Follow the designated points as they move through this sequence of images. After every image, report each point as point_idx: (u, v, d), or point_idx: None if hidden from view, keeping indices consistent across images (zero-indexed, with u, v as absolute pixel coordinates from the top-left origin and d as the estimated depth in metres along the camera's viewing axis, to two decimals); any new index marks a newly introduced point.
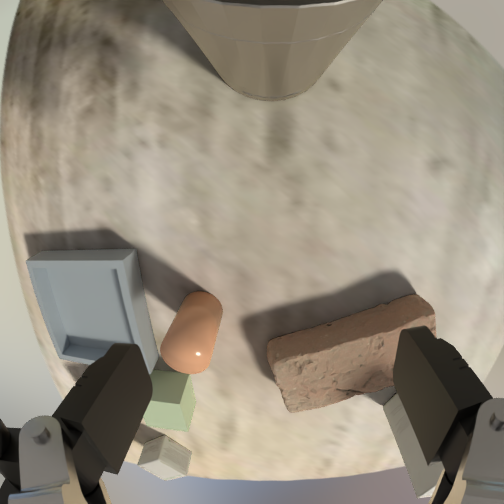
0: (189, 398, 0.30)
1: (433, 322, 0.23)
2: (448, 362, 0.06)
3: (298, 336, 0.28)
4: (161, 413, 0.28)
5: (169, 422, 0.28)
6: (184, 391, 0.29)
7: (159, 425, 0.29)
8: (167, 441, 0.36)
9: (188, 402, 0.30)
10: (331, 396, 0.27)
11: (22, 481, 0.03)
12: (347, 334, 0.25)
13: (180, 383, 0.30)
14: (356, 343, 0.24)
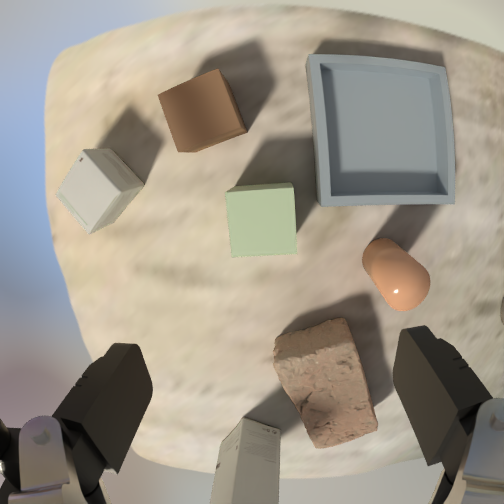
0: None
1: (368, 432, 0.30)
2: (448, 362, 0.06)
3: None
4: (267, 224, 0.22)
5: (248, 231, 0.23)
6: None
7: (233, 213, 0.22)
8: (137, 191, 0.27)
9: None
10: (301, 390, 0.28)
11: (22, 481, 0.03)
12: (366, 383, 0.29)
13: None
14: (364, 393, 0.28)
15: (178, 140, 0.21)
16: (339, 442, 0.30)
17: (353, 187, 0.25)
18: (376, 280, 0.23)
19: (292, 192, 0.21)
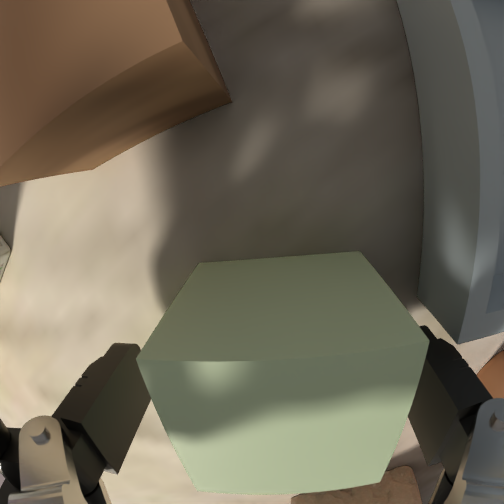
0: None
1: None
2: (448, 362, 0.06)
3: None
4: (307, 448, 0.05)
5: (240, 461, 0.05)
6: None
7: (181, 422, 0.05)
8: None
9: None
10: None
11: (22, 481, 0.03)
12: None
13: None
14: None
15: None
16: None
17: (501, 263, 0.08)
18: None
19: (420, 357, 0.04)
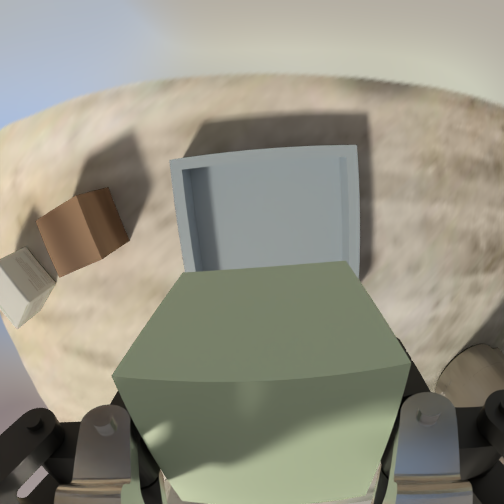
0: None
1: None
2: None
3: None
4: (287, 464, 0.05)
5: (221, 475, 0.05)
6: None
7: (160, 437, 0.05)
8: (50, 290, 0.26)
9: None
10: None
11: (94, 476, 0.04)
12: None
13: None
14: None
15: (57, 267, 0.20)
16: None
17: None
18: None
19: (401, 379, 0.04)
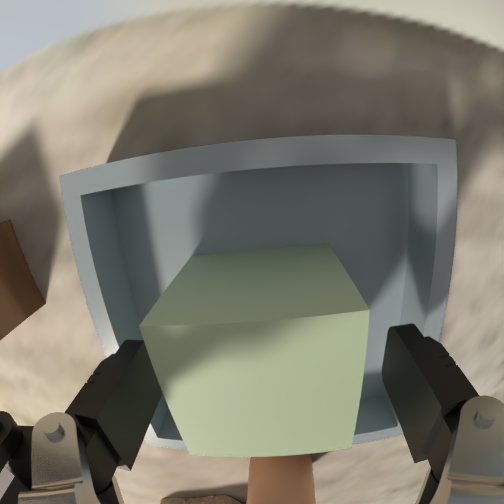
0: None
1: None
2: (434, 359, 0.06)
3: None
4: (278, 406, 0.07)
5: (224, 420, 0.07)
6: None
7: (174, 381, 0.07)
8: None
9: None
10: None
11: (37, 479, 0.03)
12: None
13: None
14: None
15: None
16: None
17: None
18: None
19: (364, 324, 0.06)
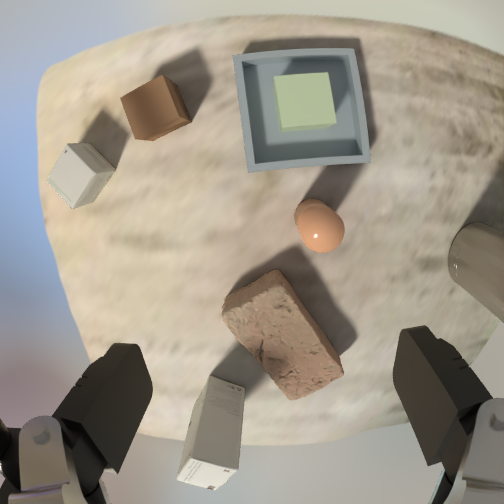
0: (307, 128, 0.28)
1: (336, 378, 0.35)
2: (448, 362, 0.06)
3: (293, 291, 0.35)
4: (310, 99, 0.24)
5: (295, 105, 0.24)
6: (330, 125, 0.27)
7: (281, 91, 0.24)
8: (110, 174, 0.32)
9: (307, 127, 0.27)
10: (253, 340, 0.34)
11: (22, 481, 0.03)
12: (314, 326, 0.34)
13: None
14: (313, 336, 0.34)
15: (135, 130, 0.27)
16: (309, 391, 0.36)
17: (278, 157, 0.31)
18: (299, 229, 0.29)
19: (327, 75, 0.23)
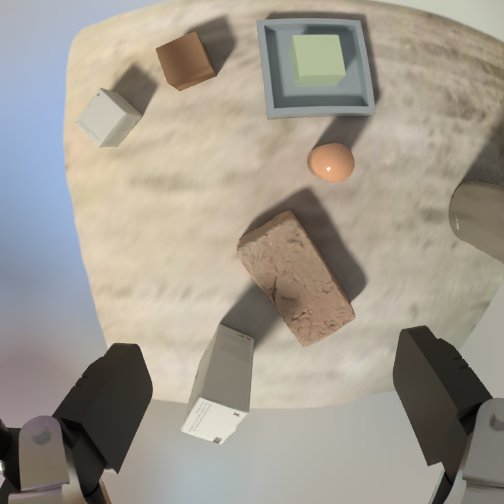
0: (320, 81, 0.30)
1: (348, 321, 0.37)
2: (448, 362, 0.06)
3: (304, 230, 0.37)
4: (323, 54, 0.26)
5: (310, 59, 0.26)
6: (340, 79, 0.28)
7: (299, 47, 0.26)
8: (137, 119, 0.34)
9: (320, 80, 0.29)
10: (267, 277, 0.36)
11: (22, 481, 0.03)
12: (325, 264, 0.36)
13: None
14: (325, 273, 0.35)
15: (168, 75, 0.28)
16: (322, 335, 0.37)
17: (294, 106, 0.32)
18: (313, 164, 0.31)
19: (337, 37, 0.25)
